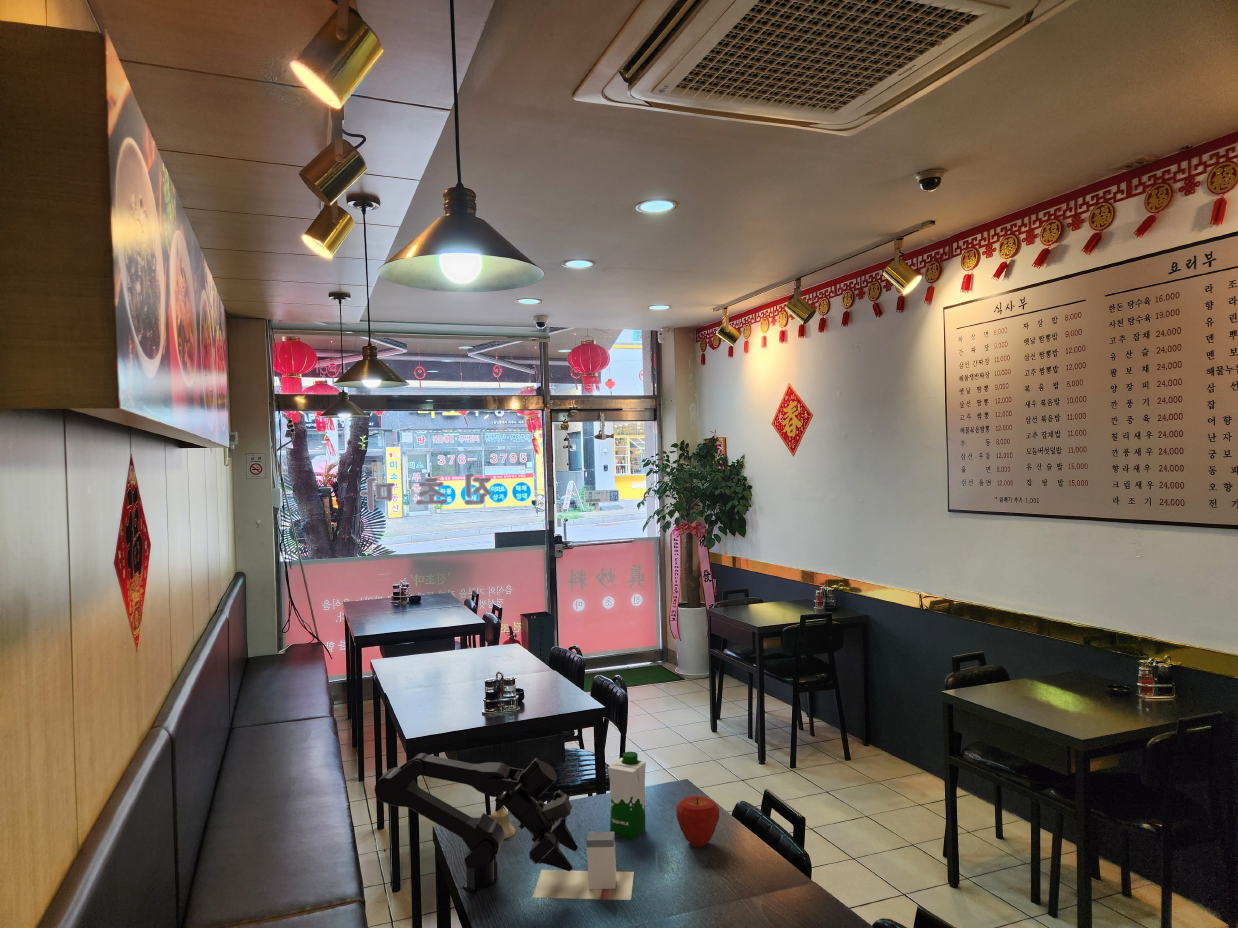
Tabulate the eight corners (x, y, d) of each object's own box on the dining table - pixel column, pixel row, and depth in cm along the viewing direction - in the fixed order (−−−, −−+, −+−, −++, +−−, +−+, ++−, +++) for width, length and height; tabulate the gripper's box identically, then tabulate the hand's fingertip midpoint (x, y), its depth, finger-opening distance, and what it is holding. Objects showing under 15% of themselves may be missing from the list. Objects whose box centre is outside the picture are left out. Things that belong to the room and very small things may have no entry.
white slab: (588, 888, 175) (586, 840, 175) (590, 879, 179) (588, 831, 179) (615, 888, 175) (613, 839, 175) (616, 879, 179) (614, 831, 179)
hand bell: (518, 825, 209) (518, 766, 210) (511, 840, 201) (510, 778, 201) (488, 825, 210) (488, 766, 210) (480, 839, 202) (479, 778, 202)
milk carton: (649, 828, 207) (648, 753, 207) (634, 843, 199) (633, 765, 199) (620, 822, 211) (619, 748, 211) (604, 836, 203) (603, 759, 203)
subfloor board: (532, 901, 172) (532, 896, 172) (541, 873, 184) (541, 869, 184) (630, 904, 170) (630, 899, 170) (633, 875, 182) (633, 871, 182)
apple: (727, 849, 195) (726, 801, 195) (689, 857, 191) (688, 808, 191) (706, 830, 205) (706, 785, 205) (670, 838, 201) (669, 791, 201)
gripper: (543, 802, 169) (594, 854, 168) (556, 770, 187) (602, 816, 186) (508, 837, 169) (558, 890, 168) (524, 801, 188) (570, 848, 187)
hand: (574, 859), depth 177 cm, fingers open, 9 cm apart
